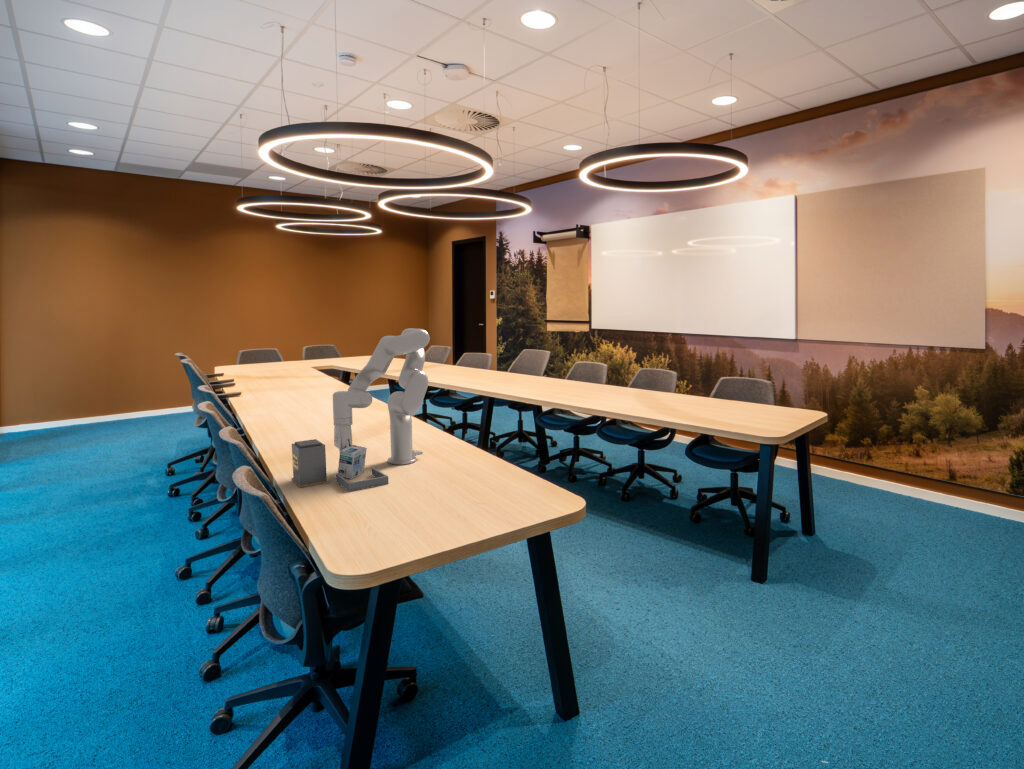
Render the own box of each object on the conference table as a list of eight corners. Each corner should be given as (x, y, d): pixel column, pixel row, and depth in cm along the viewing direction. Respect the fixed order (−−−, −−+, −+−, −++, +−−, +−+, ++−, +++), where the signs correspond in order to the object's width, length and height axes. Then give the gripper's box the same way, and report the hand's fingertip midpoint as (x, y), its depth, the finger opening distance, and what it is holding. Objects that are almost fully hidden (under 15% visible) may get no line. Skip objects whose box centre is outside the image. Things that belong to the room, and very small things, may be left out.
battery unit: (319, 475, 221) (317, 437, 219) (329, 482, 211) (327, 443, 209) (291, 480, 214) (289, 441, 212) (299, 488, 204) (297, 447, 202)
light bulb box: (351, 479, 215) (354, 453, 214) (336, 475, 216) (339, 450, 215) (364, 471, 226) (367, 447, 224) (349, 468, 227) (352, 444, 225)
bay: (373, 474, 222) (373, 467, 221) (388, 483, 210) (388, 476, 209) (335, 481, 213) (335, 474, 212) (349, 491, 201) (348, 483, 200)
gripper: (328, 419, 227) (330, 461, 229) (339, 425, 215) (341, 469, 217) (346, 417, 231) (347, 458, 234) (358, 423, 219) (359, 466, 222)
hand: (344, 464), depth 226 cm, fingers closed
